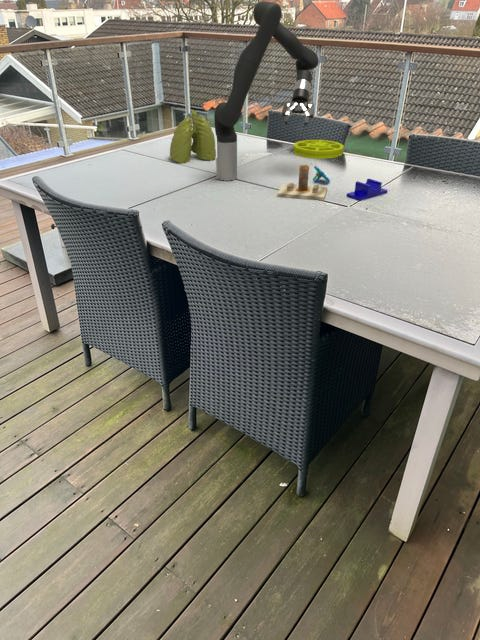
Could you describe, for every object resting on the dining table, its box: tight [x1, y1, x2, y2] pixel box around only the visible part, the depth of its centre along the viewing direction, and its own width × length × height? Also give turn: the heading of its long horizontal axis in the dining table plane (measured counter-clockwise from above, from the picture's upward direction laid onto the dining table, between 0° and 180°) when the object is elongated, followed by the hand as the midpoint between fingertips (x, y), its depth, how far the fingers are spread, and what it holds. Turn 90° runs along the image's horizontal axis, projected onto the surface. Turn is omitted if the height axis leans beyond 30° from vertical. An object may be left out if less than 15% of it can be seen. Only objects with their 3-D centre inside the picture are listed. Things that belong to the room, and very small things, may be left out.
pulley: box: [293, 139, 345, 160], centre depth 276 cm, size 28×28×5 cm
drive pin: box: [297, 164, 310, 191], centre depth 211 cm, size 4×4×10 cm
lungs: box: [169, 109, 217, 164], centre depth 258 cm, size 25×16×24 cm, turn 111°
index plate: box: [276, 182, 328, 201], centre depth 213 cm, size 20×14×4 cm
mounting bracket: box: [346, 178, 389, 202], centre depth 211 cm, size 18×7×6 cm, turn 126°
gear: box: [312, 165, 331, 183], centre depth 227 cm, size 11×6×10 cm
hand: (295, 124), depth 221 cm, fingers open, 8 cm apart
